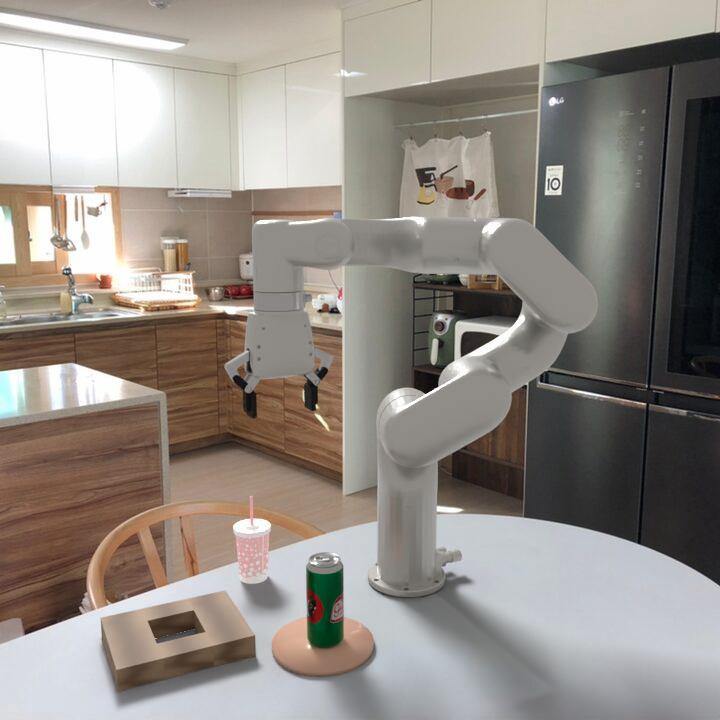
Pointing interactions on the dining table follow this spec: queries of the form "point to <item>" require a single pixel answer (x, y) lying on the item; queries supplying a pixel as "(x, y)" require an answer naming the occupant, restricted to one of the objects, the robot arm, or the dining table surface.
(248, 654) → the pocket board
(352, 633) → the peach domed disc
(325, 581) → the soda can
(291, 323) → the robot arm
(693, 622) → the dining table surface
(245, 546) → the beverage cup
